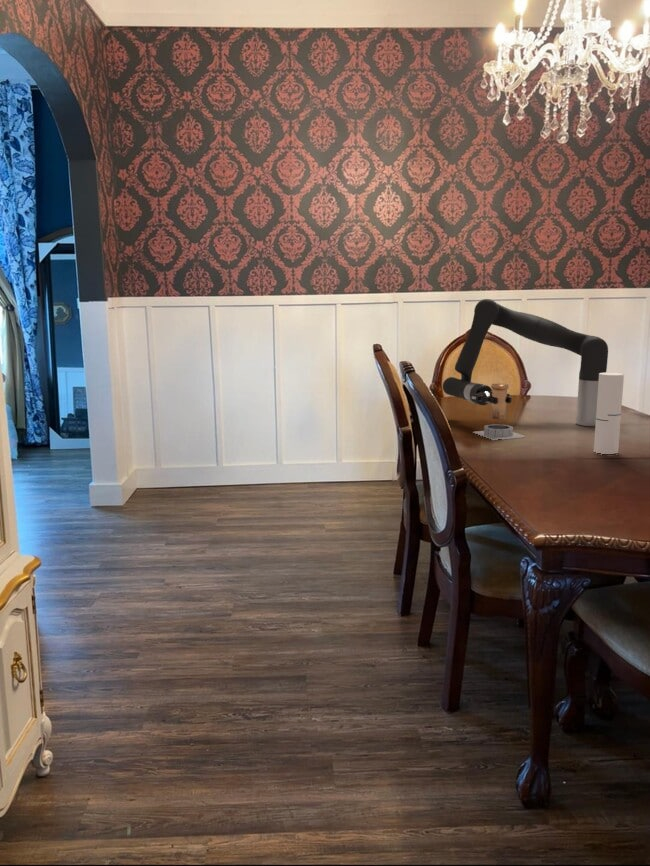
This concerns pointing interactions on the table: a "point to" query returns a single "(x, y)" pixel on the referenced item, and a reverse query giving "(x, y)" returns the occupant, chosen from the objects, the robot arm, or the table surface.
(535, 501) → the table surface
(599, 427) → the cylindrical container
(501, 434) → the duct collar
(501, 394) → the copper pipe
